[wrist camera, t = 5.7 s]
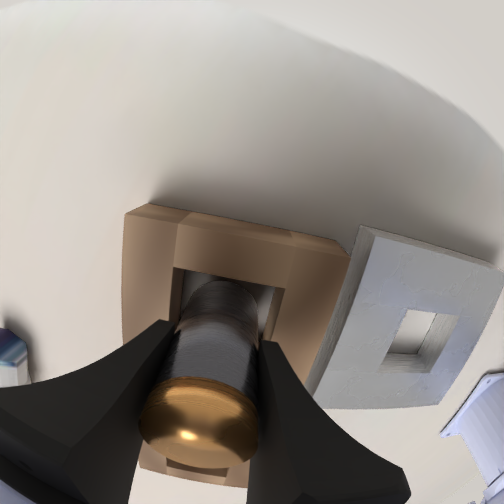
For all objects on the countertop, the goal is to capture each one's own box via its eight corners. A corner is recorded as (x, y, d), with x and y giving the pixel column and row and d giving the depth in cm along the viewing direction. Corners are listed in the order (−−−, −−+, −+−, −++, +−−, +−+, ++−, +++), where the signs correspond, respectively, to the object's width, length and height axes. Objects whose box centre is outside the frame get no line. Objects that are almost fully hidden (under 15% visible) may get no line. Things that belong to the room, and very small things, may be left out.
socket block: (488, 262, 13) (508, 273, 12) (427, 386, 17) (438, 404, 15) (359, 224, 13) (375, 236, 11) (303, 384, 16) (307, 407, 14)
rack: (335, 240, 13) (351, 258, 11) (251, 465, 19) (251, 488, 17) (146, 203, 13) (124, 213, 10) (147, 445, 19) (140, 467, 17)
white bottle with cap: (14, 376, 13) (37, 497, 17) (57, 337, 19) (54, 466, 23) (-31, 336, 12) (5, 474, 16) (15, 307, 19) (24, 446, 23)
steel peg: (265, 288, 12) (271, 417, 6) (250, 346, 13) (245, 474, 7) (191, 274, 12) (134, 390, 6) (185, 334, 13) (142, 454, 7)
